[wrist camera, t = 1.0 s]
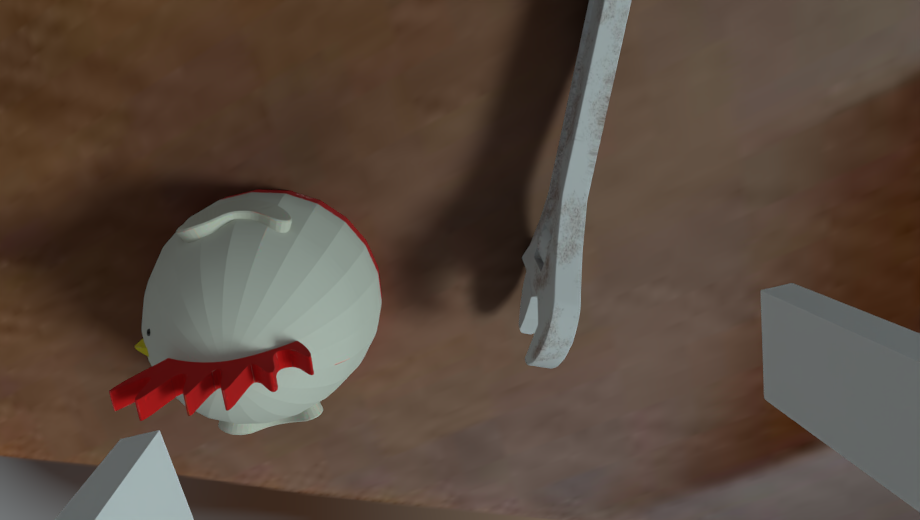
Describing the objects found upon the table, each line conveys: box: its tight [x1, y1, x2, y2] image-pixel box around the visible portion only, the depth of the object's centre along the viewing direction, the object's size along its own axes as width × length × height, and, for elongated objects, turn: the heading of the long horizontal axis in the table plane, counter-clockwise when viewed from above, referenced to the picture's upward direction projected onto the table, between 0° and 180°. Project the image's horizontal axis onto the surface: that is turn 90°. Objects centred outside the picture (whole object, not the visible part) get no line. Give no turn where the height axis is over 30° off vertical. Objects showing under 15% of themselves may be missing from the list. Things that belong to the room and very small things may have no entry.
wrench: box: [519, 0, 631, 368], centre depth 33 cm, size 8×2×30 cm
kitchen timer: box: [109, 189, 382, 435], centre depth 29 cm, size 14×14×15 cm
